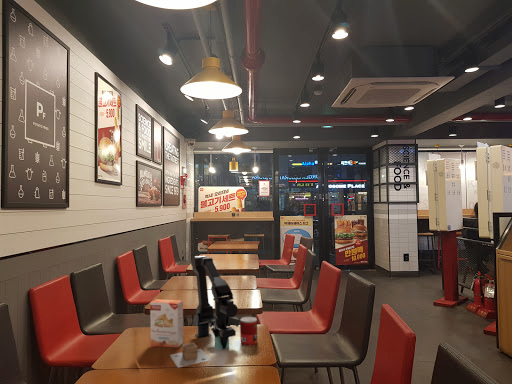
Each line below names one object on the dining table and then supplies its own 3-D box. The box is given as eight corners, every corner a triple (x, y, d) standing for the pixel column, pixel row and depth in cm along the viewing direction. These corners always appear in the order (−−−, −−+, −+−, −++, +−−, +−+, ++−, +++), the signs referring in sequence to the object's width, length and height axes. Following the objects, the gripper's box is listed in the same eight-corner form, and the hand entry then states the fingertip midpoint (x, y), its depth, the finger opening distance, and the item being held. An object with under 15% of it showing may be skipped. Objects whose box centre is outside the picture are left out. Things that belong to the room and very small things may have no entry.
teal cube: (214, 348, 165) (214, 337, 165) (225, 346, 167) (224, 335, 167) (218, 352, 160) (218, 340, 160) (229, 350, 163) (229, 338, 163)
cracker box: (150, 347, 167) (149, 301, 168) (156, 342, 173) (156, 298, 174) (178, 350, 164) (177, 303, 165) (183, 345, 170) (183, 299, 171)
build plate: (169, 357, 156) (169, 354, 156) (200, 350, 162) (200, 347, 162) (177, 370, 143) (177, 366, 144) (211, 362, 150) (211, 359, 150)
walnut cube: (182, 356, 154) (182, 344, 154) (193, 354, 156) (193, 342, 156) (185, 360, 150) (185, 348, 150) (197, 358, 152) (197, 346, 152)
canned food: (257, 345, 167) (256, 321, 167) (240, 345, 167) (239, 321, 168) (257, 339, 175) (257, 316, 175) (241, 339, 175) (240, 316, 175)
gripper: (246, 314, 160) (246, 350, 159) (229, 304, 176) (230, 337, 176) (222, 318, 155) (223, 355, 154) (208, 307, 171) (208, 341, 171)
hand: (221, 346), depth 164 cm, fingers closed on teal cube, 5 cm apart
